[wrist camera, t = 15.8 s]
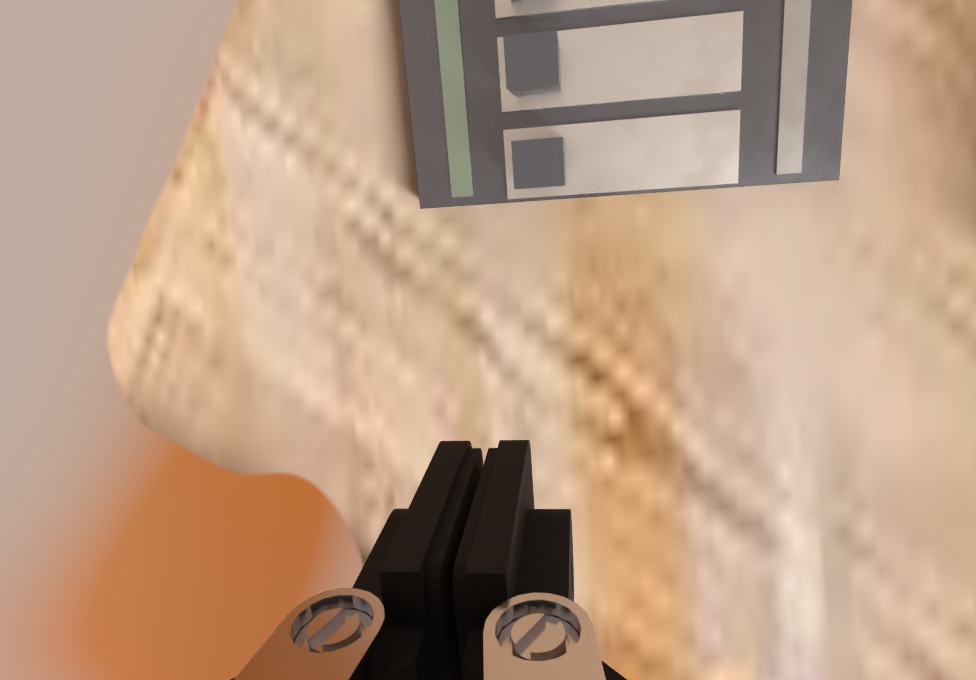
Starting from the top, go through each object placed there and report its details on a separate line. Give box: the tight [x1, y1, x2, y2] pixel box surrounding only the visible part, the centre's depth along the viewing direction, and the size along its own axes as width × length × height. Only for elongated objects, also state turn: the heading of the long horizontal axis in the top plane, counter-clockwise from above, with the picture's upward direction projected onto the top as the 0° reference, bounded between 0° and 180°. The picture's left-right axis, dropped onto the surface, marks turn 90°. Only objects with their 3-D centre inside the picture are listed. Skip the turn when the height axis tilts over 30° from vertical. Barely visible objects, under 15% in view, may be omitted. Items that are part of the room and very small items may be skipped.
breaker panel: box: [399, 0, 852, 209], centre depth 33 cm, size 13×22×2 cm, turn 94°
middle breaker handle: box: [503, 30, 561, 96], centre depth 30 cm, size 2×2×4 cm
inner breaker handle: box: [511, 137, 566, 189], centre depth 32 cm, size 2×2×4 cm
